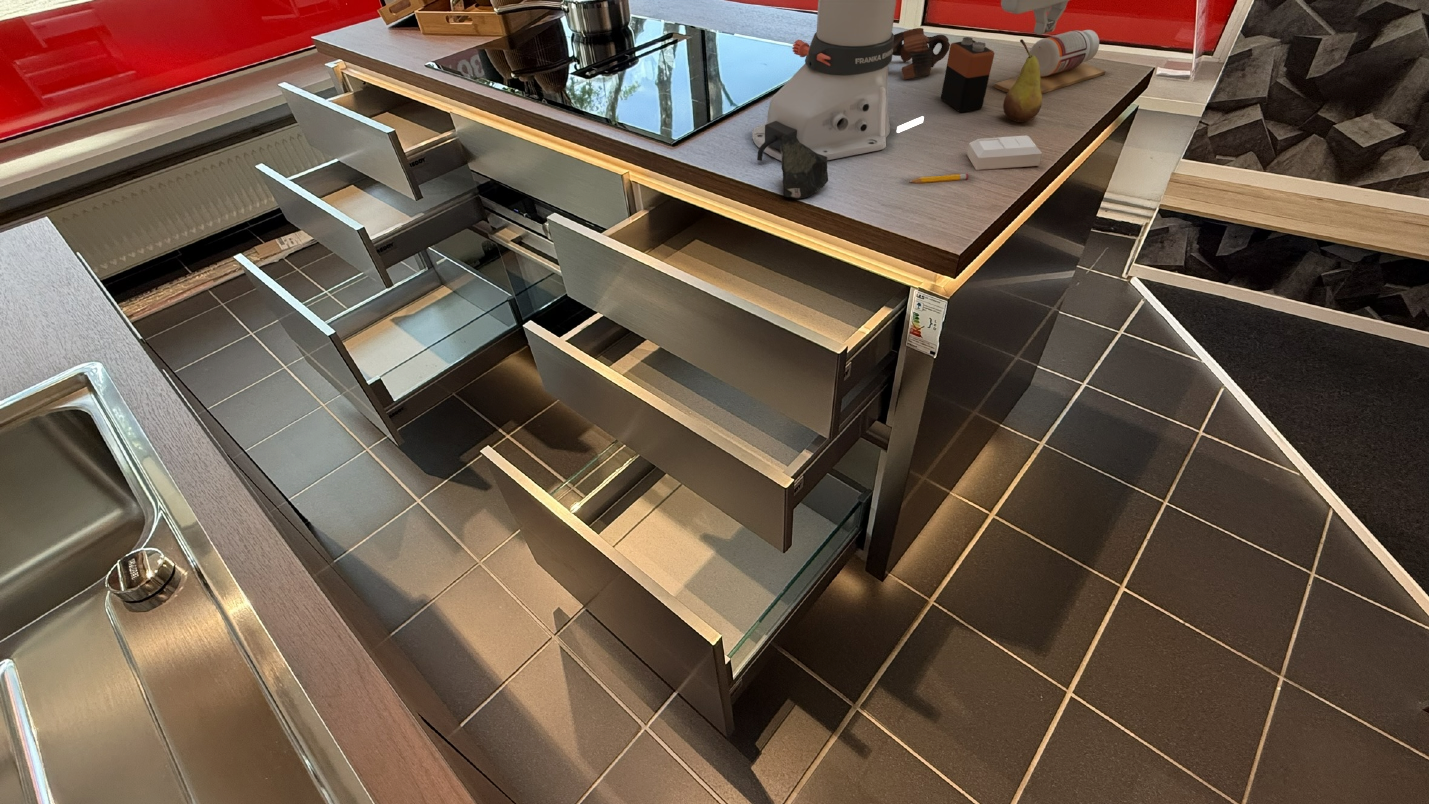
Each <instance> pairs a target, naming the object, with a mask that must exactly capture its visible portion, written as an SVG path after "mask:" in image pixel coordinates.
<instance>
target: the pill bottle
mask: <svg viewBox="0 0 1429 804" xmlns="http://www.w3.org/2000/svg"><path fill="white" fill-rule="evenodd" d="M1099 48H1100V38H1099V36H1098V33H1097V32H1095V31H1094V30H1092V29H1085V30H1070V31H1066V32H1063V33H1059V34H1056V35H1052V36H1048V37H1044V38H1041V39H1039V40H1037V41H1036V42H1035V43H1034V44H1033V45H1032V46H1031V48H1030V50H1029V53H1030V54H1031V55H1034V56H1035V57H1036V58H1037V60H1038V63H1039V67H1040V77H1045V76H1049V75H1052V74H1055V73H1059V72H1062V71H1065V70H1069V69H1072V68H1075V67H1078V66H1079V65H1081V64H1082V63H1084V62H1088V61H1091V60H1092V59H1093V58H1094V57H1095V56H1096V55H1097V53H1098V51H1099Z"/></svg>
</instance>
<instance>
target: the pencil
mask: <svg viewBox="0 0 1429 804" xmlns="http://www.w3.org/2000/svg"><path fill="white" fill-rule="evenodd" d="M968 179H969V174H968V173H959V174H947V175H936V176H935V175H934V176H923V177H917V178H914V179H911V180H909V181H908V182H909V183H916V184H927V183H928V184H929V183H941V182H953V181H964V180H965V181H966V180H968Z"/></svg>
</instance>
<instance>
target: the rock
mask: <svg viewBox="0 0 1429 804" xmlns="http://www.w3.org/2000/svg"><path fill="white" fill-rule="evenodd" d="M781 159H782V161H781V172H782V186H783V190H782V191H783V192H782V193H783V198H793V199H805V198H808V197H811V196H813V195H815V194H816V192H818V191H820V190H821V189H823V188H824V187H825V186H826V184H827V183H828V182H829V174H828V160H827V157H826V156H824V155H821V154H817V153H816V152H814V151H812V150H811V149H810V148H808V147H807V146H805V145H803V144H802V143H800V142H799V140H798V139H797V138H796V137H794V136H791V135H783V136H782V138H781Z"/></svg>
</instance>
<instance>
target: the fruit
mask: <svg viewBox="0 0 1429 804" xmlns="http://www.w3.org/2000/svg"><path fill="white" fill-rule="evenodd" d="M1019 43H1021V44H1022V46H1023V47H1024V49H1025V51H1026V54H1027V55H1028V57H1027V58H1026V59H1025V62H1024V64H1023V65H1022V68H1021V71H1020V72H1019V75H1018V76H1019V77H1018V76H1017V77H1018V79H1017V81H1016V82H1015V84H1014V85H1013V86H1012V88H1011V89H1010V90H1009V91H1008V93H1007V92H1006V95H1005V97H1004V101H1003V112H1004V114H1005V116H1006V117H1007V118H1008V119H1009V120H1011V121H1013V122H1017V123H1025V122H1028V121H1031V120H1033V119H1034V118H1035V117H1036V116H1037V115H1038V114H1039V112H1040V111H1041V108H1042V106H1043V94H1041V90H1040V67H1039V63H1038V60H1037V58H1036V57H1035V56H1034V55H1031V54H1030V50H1029V49H1028V47H1027V45H1026V42H1025V41H1024V40H1023V38H1022V39H1020V40H1019Z"/></svg>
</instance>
